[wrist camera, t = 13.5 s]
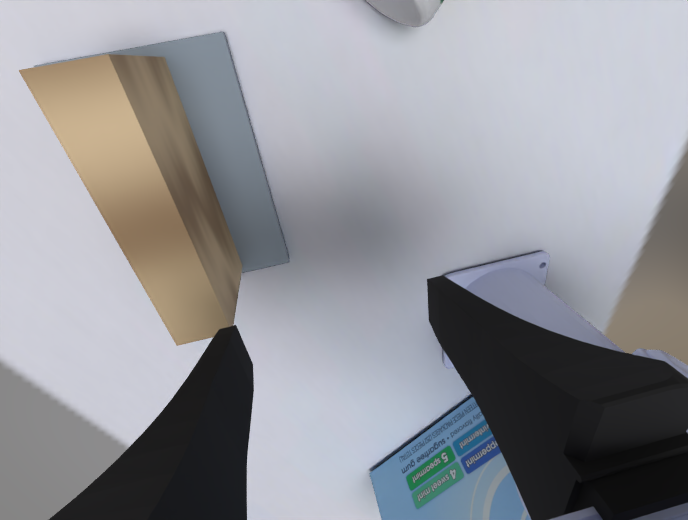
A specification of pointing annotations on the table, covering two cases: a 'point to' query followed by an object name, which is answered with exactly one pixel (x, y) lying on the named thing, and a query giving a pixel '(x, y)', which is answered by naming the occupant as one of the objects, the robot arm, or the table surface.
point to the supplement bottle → (408, 10)
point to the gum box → (449, 474)
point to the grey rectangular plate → (223, 142)
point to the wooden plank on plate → (146, 183)
